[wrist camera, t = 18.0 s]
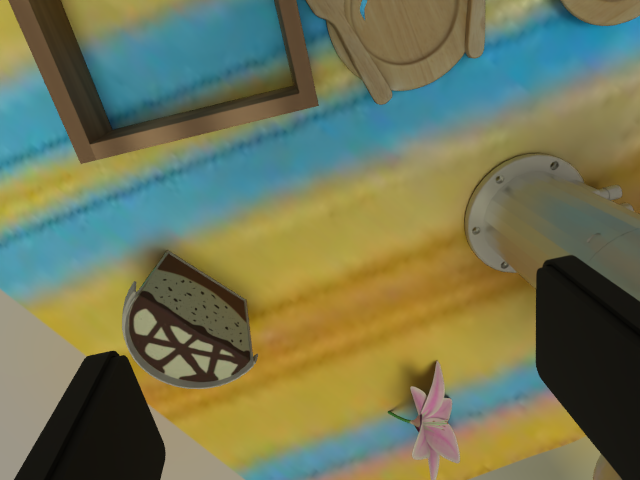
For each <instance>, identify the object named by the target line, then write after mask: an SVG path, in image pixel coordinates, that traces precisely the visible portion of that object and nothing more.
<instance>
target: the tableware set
mask: <svg viewBox="0 0 640 480" xmlns="http://www.w3.org/2000/svg"><path fill="white" fill-rule="evenodd" d="M560 1H561V2H562V4H563V5H564V6H565V8H566V9H567V10H568V11H569V12H570V13H571V14H572V15H573V16H575V17H576V18H578V19H580V20H582V21H584V22H586V23H589V24H594V25H599V26H611V25H617V24H621V23H624V22H627V21H630V20H632V19H634V18H636V17H638V16H640V0H560ZM306 2H307V3H308V5H309V6H310V8H311V10H312V11H313V13H314V14H315V15H316V16H318V17H320V18H322V19H325V20H326V23H327V28H328V32H329V35H330V38H331V41H332V43H333V46H334V48H335V50H336V52H337V54H338V56H339V57H340V59H341V60H342V61H343V63H344V64H345V65H346V66H347V68H348V69H349V70H350V71H351V72H352V73H354V74H355V75H356V76H357V77H359V78H360V79H362V80H363V82H364V84H365V85H366V87H367V89H368V91H369V93H370V94H371V96H372V98H373V100H374V101H375V102H376V103H377V104H380V105H382V104H386V103H387V102H388V101H389V100H390V99H391V98H392V91H391V90H393V91H405V90H411V89H416V88H420V87H422V86H425V85H428V84H430V83H432V82H434V81H435V80H437V79H438V78H440V77H442V76H443V75H444V74H445V73H447V72H448V71H449V70H450V69H451V68H452V67H453V66H454V65H455V64H456V63H457V62H458V61H459V60H460V59H461V57H462V56H463V55H464V53H465V52H466V54H467V56H468V57H469V58H478V57H480V56H481V55H482V53H483V51H484V43H485V0H368V1H367V4H366V7H365V9H364V10H365V20H364V19H363V17H362V15H361V13H360V5H361V2H362V0H306Z"/></svg>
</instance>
